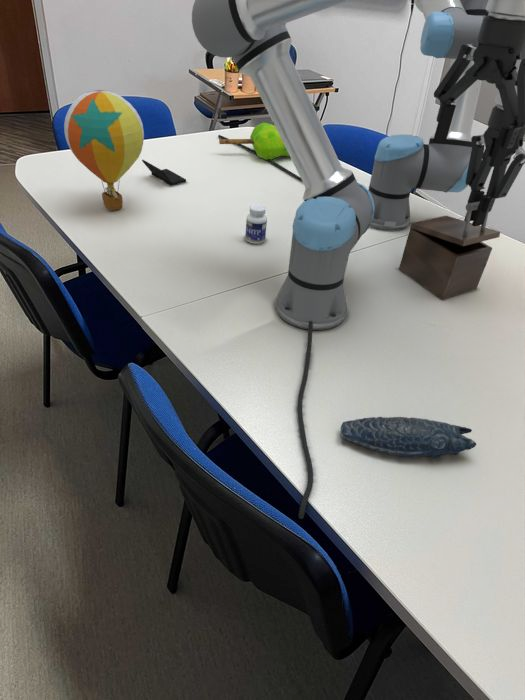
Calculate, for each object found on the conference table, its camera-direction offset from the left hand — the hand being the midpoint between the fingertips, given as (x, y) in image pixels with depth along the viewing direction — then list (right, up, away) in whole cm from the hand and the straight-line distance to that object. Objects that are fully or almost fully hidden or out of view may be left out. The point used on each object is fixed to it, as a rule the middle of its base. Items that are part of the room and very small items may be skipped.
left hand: (466, 153), depth 95 cm
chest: (+6, -19, +32) cm, 38 cm away
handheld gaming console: (-68, +18, +69) cm, 99 cm away
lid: (+7, -9, +24) cm, 27 cm away
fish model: (-15, -52, -11) cm, 55 cm away
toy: (-79, +3, +50) cm, 94 cm away
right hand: (+9, -8, +19) cm, 22 cm away
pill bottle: (-39, -7, +41) cm, 58 cm away
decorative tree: (-38, +34, +93) cm, 107 cm away
